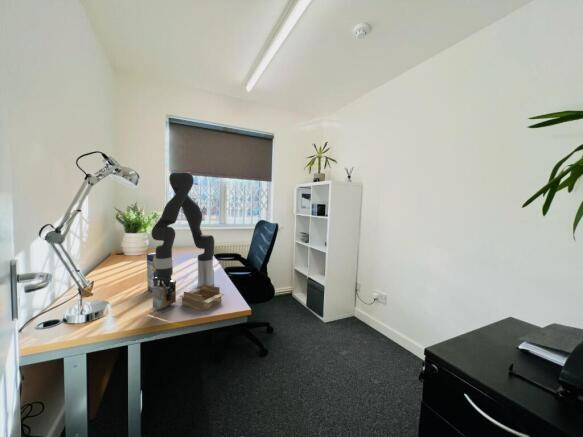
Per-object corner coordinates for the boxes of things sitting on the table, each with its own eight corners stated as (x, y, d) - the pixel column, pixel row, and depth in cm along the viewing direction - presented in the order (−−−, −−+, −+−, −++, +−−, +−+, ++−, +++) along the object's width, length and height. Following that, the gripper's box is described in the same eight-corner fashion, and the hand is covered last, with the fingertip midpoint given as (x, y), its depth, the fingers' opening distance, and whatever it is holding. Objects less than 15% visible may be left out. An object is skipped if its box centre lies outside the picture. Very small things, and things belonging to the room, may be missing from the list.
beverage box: (147, 289, 140) (146, 254, 139) (164, 284, 150) (164, 251, 148) (153, 291, 137) (153, 255, 135) (171, 286, 146) (170, 252, 145)
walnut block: (169, 300, 121) (168, 281, 120) (175, 302, 119) (175, 283, 118) (152, 307, 112) (152, 287, 112) (159, 309, 110) (159, 289, 110)
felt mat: (166, 303, 122) (166, 302, 122) (178, 306, 118) (178, 305, 118) (150, 310, 113) (150, 309, 113) (162, 314, 110) (162, 313, 110)
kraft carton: (198, 296, 131) (198, 282, 131) (224, 302, 124) (224, 288, 123) (178, 305, 119) (178, 290, 119) (206, 313, 112) (206, 297, 111)
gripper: (180, 266, 115) (181, 299, 116) (161, 262, 121) (161, 294, 122) (167, 270, 108) (168, 305, 109) (147, 266, 114) (147, 299, 115)
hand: (164, 299), depth 115 cm, fingers closed on walnut block, 5 cm apart
